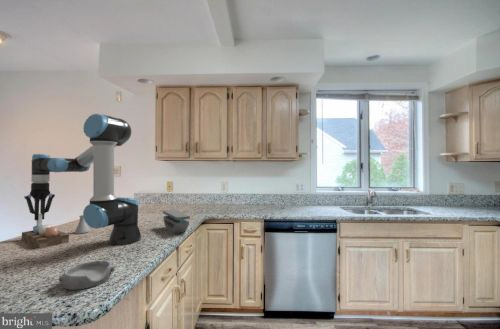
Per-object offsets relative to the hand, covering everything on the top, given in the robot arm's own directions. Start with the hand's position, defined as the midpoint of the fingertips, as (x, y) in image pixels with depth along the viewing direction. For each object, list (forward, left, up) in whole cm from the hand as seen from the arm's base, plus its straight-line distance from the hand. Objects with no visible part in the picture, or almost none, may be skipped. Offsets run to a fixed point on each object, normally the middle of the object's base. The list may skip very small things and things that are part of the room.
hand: (39, 225), depth 132 cm
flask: (-5, -19, -7) cm, 21 cm away
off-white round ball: (-8, 0, -4) cm, 9 cm away
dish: (-74, +10, -7) cm, 75 cm away
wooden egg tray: (-8, 0, -7) cm, 11 cm away
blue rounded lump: (0, 0, -5) cm, 5 cm away
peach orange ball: (-16, 0, -4) cm, 17 cm away
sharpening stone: (-47, -53, -7) cm, 71 cm away
